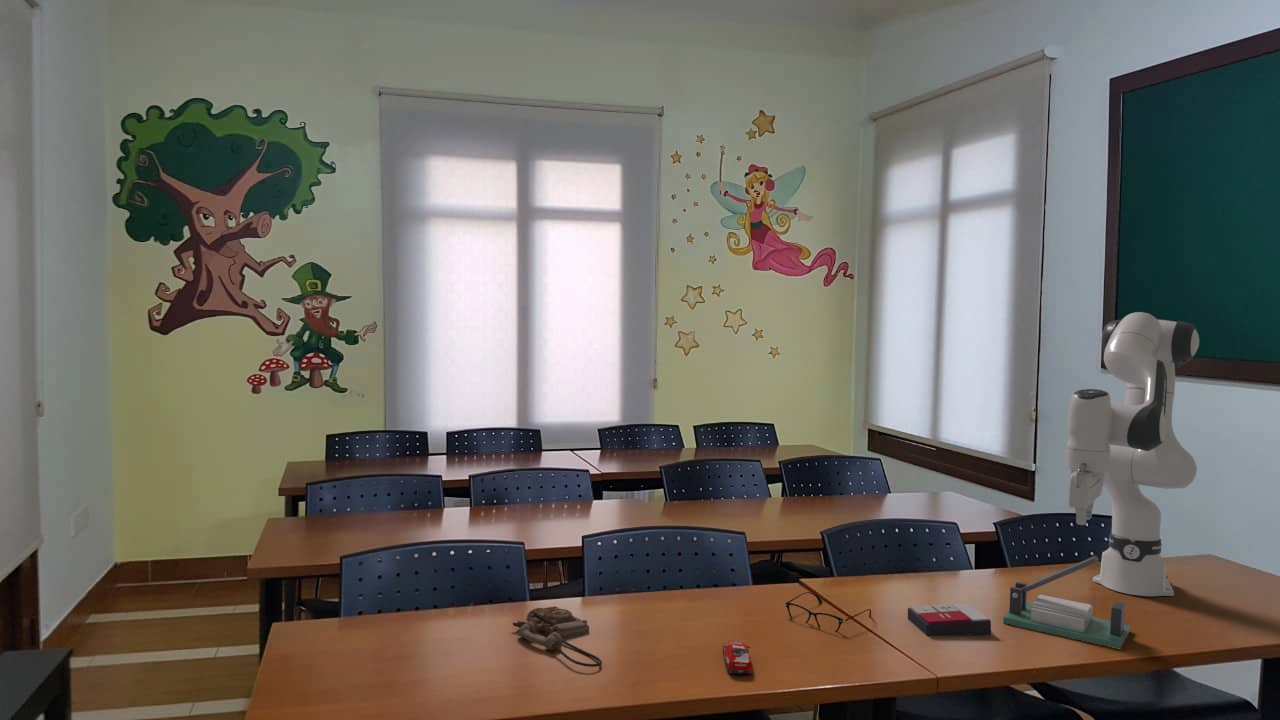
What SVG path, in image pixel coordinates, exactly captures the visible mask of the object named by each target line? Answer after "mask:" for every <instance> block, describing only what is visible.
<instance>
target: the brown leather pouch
mask: <svg viewBox="0 0 1280 720" xmlns="http://www.w3.org/2000/svg"><path fill="white" fill-rule="evenodd" d="M512 626H514V627H517V628H518V633H519V636H520V638H522V639H526V640H528V641H529V642H532V643H534V644H537V645H539V646H542V647H545V648H546V650H548V651H558V652H559V654H561V655H562V657H564V658H565V659H566V660H568V661H569V662H572V663H573V664H576V665H580V666H583V667H589V668H592V667H593V668H595V667H596V668H597V667H600V666H601V665H602V664H603V661H602V659H601V658H599V657H598V656H596V655H594V654H592V653H590V652H588V651H585V650H583V649H581V648H579V647H578V646H576V645H573V644H571V643H569V642H568V641H565V640H564V639H567V638H571V637H572V638H573V637H575V636H581V635H584V634H589V633H590V625H589V624H588V620H586V619H583V620H581V619H580V618H579V617H576V616H574V615H573V613H572V612H571V611H570V610H569V609H565V608H559V607H558V606H555V605H554V606H549V607H535V608H533V609H532V610H530V611H529V612H528V613H527V616H526V619H525V621H522V620H518V621H517V622H512ZM537 631H539V632H541V633H542V632H543V633H544V634H545V635H547V637H541V636H539V635H537ZM563 644H564V645H566V646H568V647H570V648H571V649H574V650H575V651H577V652H580V653H582V654H584V655H586V656H587V657H590V658H593V659H595V660H596V661H598V663H585V662H581V661H578V660H575V659H573V658H571V657H570V656H568V655H567V654H566V653H565V652H564V651H562V650H561V648H562V646H563Z"/></svg>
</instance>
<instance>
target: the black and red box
mask: <svg viewBox="0 0 1280 720" xmlns="http://www.w3.org/2000/svg"><path fill="white" fill-rule="evenodd" d="M907 621H909V622H910V623H912V624H913V626H915V627H916V628H917V629H919V631H921V632H922V633H923V634H924V635H925V636H927V637H956V636H957V637H958V636H959V637H961V636H975V637H976V636H978V637H979V636H980V637H981V636H983V635H990V636H992V622H991V621H992V620H991V619H989V618H988V617H987V616H985V615H984V614H982V612H980V611H978V610H977V609H976V608H974V607H972V606H971V605H970V604H969V603H956V604H952V603H942V604H941V603H940V604H932V605H929V604H927V605H925V604H923V605H911V606H910V607H907Z"/></svg>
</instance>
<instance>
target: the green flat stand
mask: <svg viewBox="0 0 1280 720" xmlns="http://www.w3.org/2000/svg"><path fill="white" fill-rule="evenodd" d="M1026 585H1028V583H1024V582H1020V581H1016V582H1015V586H1011V587H1009V588H1010V591H1009V592H1010V593H1009V611H1008V612H1007V613H1006V614H1005V615H1004V616H1003V618H1002V619H1003V621H1002V623H1003V624H1004V623H1005V624H1006V625H1008V624H1010V625H1009V626H1013V625H1015V626H1014V627H1017V626H1018V628H1021V627H1024V628H1023V629H1026V628H1028V629H1027V630H1030V629H1032V630H1031V631H1035V630H1037V631H1036V632H1039V631H1041V632H1040V633H1043V632H1046V633H1045V634H1048V633H1050V634H1049V635H1052V634H1054V635H1053V636H1057V635H1059V636H1058V637H1061V636H1063V637H1062V638H1065V637H1069V638H1068V639H1070V638H1074V639H1078V640H1084V641H1087V642H1092V643H1096V644H1101V645H1105V646H1110V647H1115V648H1120V649H1122V648H1123V646H1124V644H1125V642H1126V640H1127V637H1129V634H1130V631H1131V625H1130V624H1126V623H1125V614H1126V613H1125V611H1126V603H1123V602H1119V601H1118V602H1117V601H1115V602H1114V603H1113V604H1112V606H1111V612H1110V620H1107V619H1102V618H1097V617H1093V613H1094V612H1093V610H1094V607H1093V606H1092V604H1089V603H1084V602H1080V601H1074V600H1068V599H1066V598H1065V599H1063V598H1060V597H1059V598H1058V597H1054V596H1049V595H1045V594H1039V595H1038V596H1037V597H1036V598H1035V600H1034V601H1032V604H1030V603H1027V601H1028V592H1026V593H1023V594H1022V591H1023V589H1021V588H1022V587H1024V586H1026ZM1074 639H1073V640H1074ZM1125 639H1126V640H1125ZM1078 640H1077V641H1078ZM1124 641H1125V642H1124ZM1087 642H1086V643H1087ZM1092 643H1091V644H1092ZM1123 643H1124V644H1123ZM1096 644H1095V645H1096ZM1122 645H1123V646H1122ZM1105 646H1104V647H1105ZM1121 647H1122V648H1121Z"/></svg>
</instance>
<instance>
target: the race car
mask: <svg viewBox="0 0 1280 720" xmlns="http://www.w3.org/2000/svg"><path fill="white" fill-rule="evenodd" d="M749 649H751V646H748V645H747V644H746V643H743V642H739V641H727V642H724V643H723V644H722V654H723V660H724V664H725V669H726V672H727V673H730V674H734V675H735V674H737V675H751V674H753V666H754V665H753V661H752V657H751V652H750V650H749Z"/></svg>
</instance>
